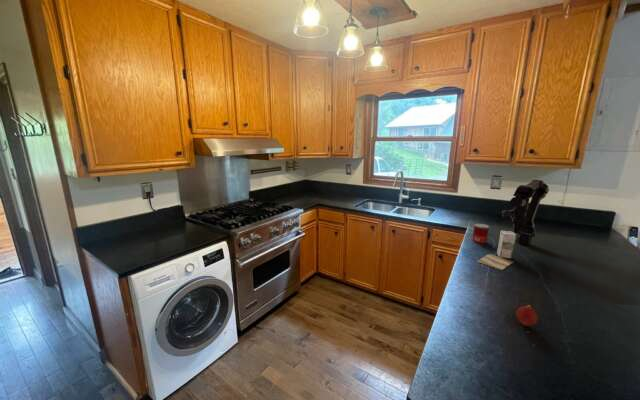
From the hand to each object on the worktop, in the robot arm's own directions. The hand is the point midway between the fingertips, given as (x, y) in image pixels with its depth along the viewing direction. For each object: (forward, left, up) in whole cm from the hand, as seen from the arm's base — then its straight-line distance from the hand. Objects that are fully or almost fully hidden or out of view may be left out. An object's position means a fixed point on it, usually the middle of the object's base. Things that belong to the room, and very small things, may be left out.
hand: (514, 232), depth 154 cm
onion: (+36, +70, -11) cm, 79 cm away
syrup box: (+10, +10, -11) cm, 18 cm away
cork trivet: (+19, +18, -11) cm, 28 cm away
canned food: (+13, -12, -11) cm, 21 cm away
